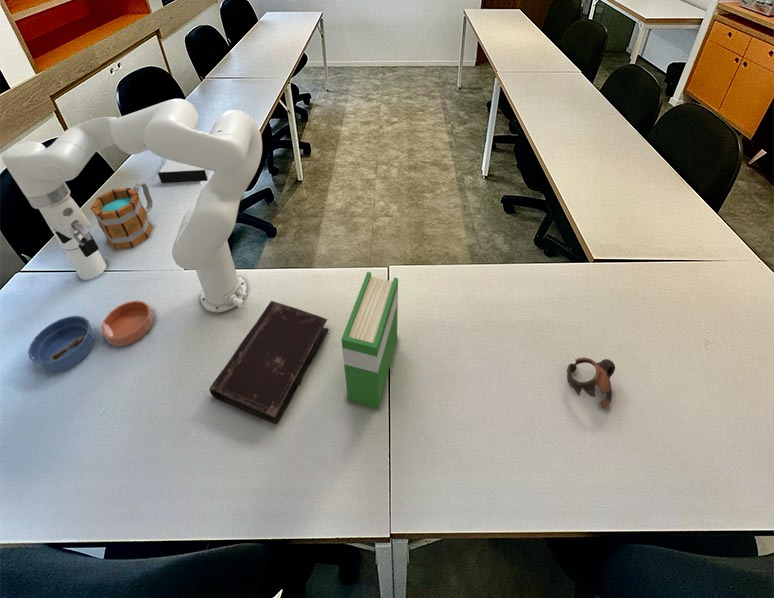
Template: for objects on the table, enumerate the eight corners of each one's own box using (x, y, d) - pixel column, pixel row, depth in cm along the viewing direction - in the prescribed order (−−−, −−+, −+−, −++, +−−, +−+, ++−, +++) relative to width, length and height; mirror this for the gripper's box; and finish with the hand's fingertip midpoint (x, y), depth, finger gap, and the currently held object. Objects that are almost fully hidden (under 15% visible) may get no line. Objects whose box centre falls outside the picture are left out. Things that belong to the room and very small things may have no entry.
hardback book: (369, 332, 112) (367, 271, 99) (397, 339, 111) (398, 278, 98) (347, 400, 98) (341, 339, 85) (378, 408, 97) (376, 348, 83)
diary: (211, 397, 99) (206, 386, 96) (271, 310, 118) (268, 298, 116) (280, 428, 93) (277, 417, 91) (331, 331, 113) (330, 319, 110)
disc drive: (161, 183, 166) (157, 173, 164) (180, 151, 185) (176, 142, 182) (207, 181, 168) (204, 171, 165) (221, 149, 186) (218, 140, 184)
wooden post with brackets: (90, 334, 112) (88, 339, 108) (57, 356, 108) (54, 363, 104) (86, 329, 112) (84, 334, 108) (52, 351, 108) (49, 357, 104)
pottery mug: (599, 421, 95) (587, 396, 92) (566, 396, 103) (554, 372, 101) (632, 383, 98) (621, 358, 96) (597, 362, 107) (586, 338, 105)
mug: (134, 252, 136) (117, 218, 128) (98, 246, 139) (79, 211, 131) (172, 212, 152) (159, 179, 144) (139, 207, 155) (125, 174, 147)
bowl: (107, 340, 111) (100, 329, 109) (54, 383, 102) (45, 373, 99) (79, 318, 117) (72, 308, 114) (26, 357, 107) (17, 347, 105)
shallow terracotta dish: (162, 319, 116) (158, 312, 114) (122, 353, 108) (118, 346, 106) (136, 301, 121) (133, 294, 119) (97, 333, 113) (92, 326, 111)
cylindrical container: (87, 283, 126) (50, 221, 113) (74, 273, 130) (37, 211, 116) (110, 267, 131) (78, 206, 118) (98, 258, 135) (65, 197, 121)
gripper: (87, 194, 95) (116, 247, 105) (44, 174, 103) (75, 225, 112) (52, 214, 90) (86, 269, 99) (10, 191, 97) (45, 244, 107)
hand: (80, 246), depth 106 cm, fingers open, 9 cm apart
